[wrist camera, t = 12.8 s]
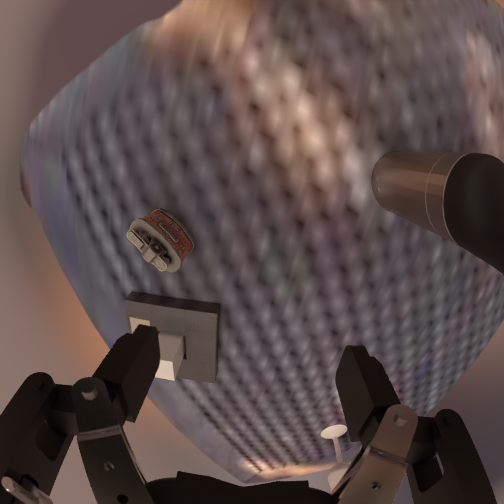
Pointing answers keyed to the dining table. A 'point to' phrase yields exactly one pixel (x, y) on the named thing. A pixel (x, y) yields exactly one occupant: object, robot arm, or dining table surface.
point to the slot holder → (181, 329)
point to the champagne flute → (341, 466)
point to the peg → (170, 354)
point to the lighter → (161, 240)
